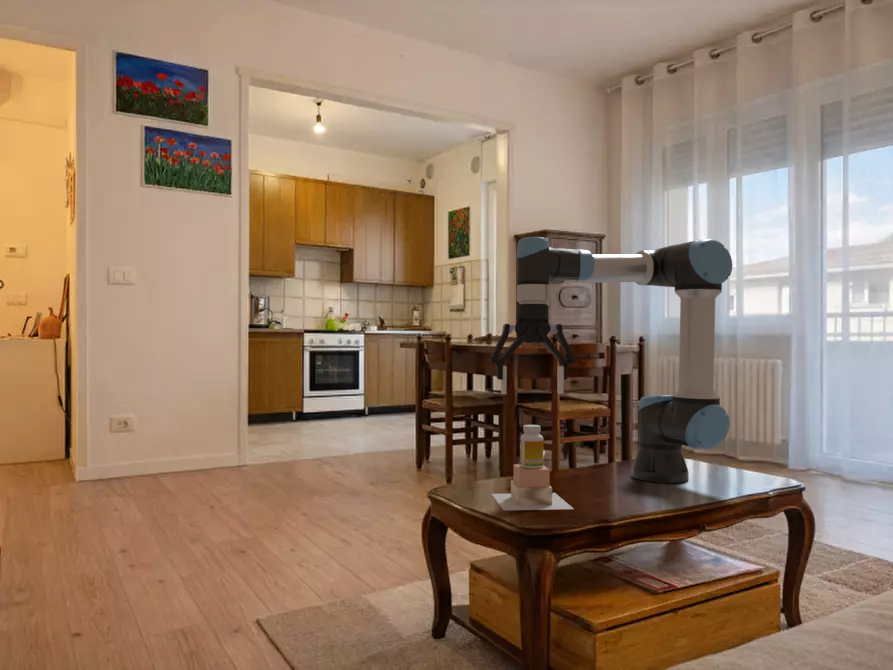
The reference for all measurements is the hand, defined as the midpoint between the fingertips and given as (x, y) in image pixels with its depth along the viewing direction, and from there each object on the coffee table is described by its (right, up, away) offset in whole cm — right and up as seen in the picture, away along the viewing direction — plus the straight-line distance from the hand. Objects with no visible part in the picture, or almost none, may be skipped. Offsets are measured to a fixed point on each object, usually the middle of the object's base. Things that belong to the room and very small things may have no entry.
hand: (532, 393), depth 158 cm
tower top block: (0, -21, 0) cm, 21 cm away
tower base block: (0, -25, 0) cm, 25 cm away
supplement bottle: (0, -17, 0) cm, 17 cm away
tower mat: (0, -26, 0) cm, 26 cm away
